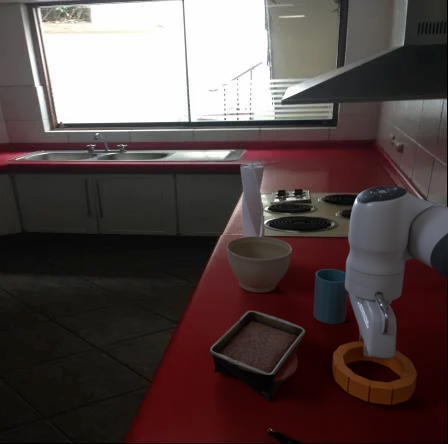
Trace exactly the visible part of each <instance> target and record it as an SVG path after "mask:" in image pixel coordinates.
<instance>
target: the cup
mask: <svg viewBox="0 0 448 444" xmlns="http://www.w3.org/2000/svg"><path fill="white" fill-rule="evenodd" d="M345 277H346V271H342V270H340V269H335V268H324V269H319V270H316V272H315V275H314V289H313V291H314V292H313V304H312V305H313V306H312V315H313V318H314V319H315V320H317V321H318V322H321V323H323V324H328V325H338V324H339V325H340V324H343V323H344V322H345V321H346V320H347V313H348V303H349V302H348V301H349V292H348V291H347V290H346V288H345Z"/></svg>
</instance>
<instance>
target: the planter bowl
mask: <svg viewBox="0 0 448 444" xmlns="http://www.w3.org/2000/svg"><path fill="white" fill-rule="evenodd" d="M226 252H227V259H228V264H229V267H230V270H231V272H232V274H233V275H234V277H235V278H236V280H237V281H238V284H239V286H240V288H242V289H243V290H245V291H248V292H251V293H256V294H257V293H258V294H263V293H264V294H265V293H270V292H272V291H274V290H275V289H276V288H277V286H278V283H279V282H280V281H282V279H283V278H284V276H285V275H286V274H287V271H288V269H289V266H290V263H291V257H292V253H293V247H292V245H290V244H289V243H288V242H286V241H284V240H281V239H278V238H274V237H270V236H264V237H257V236H252V237H243V236H242V237H238V238H234V239H232V240H231V241H229V242H228V243H227V245H226Z"/></svg>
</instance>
